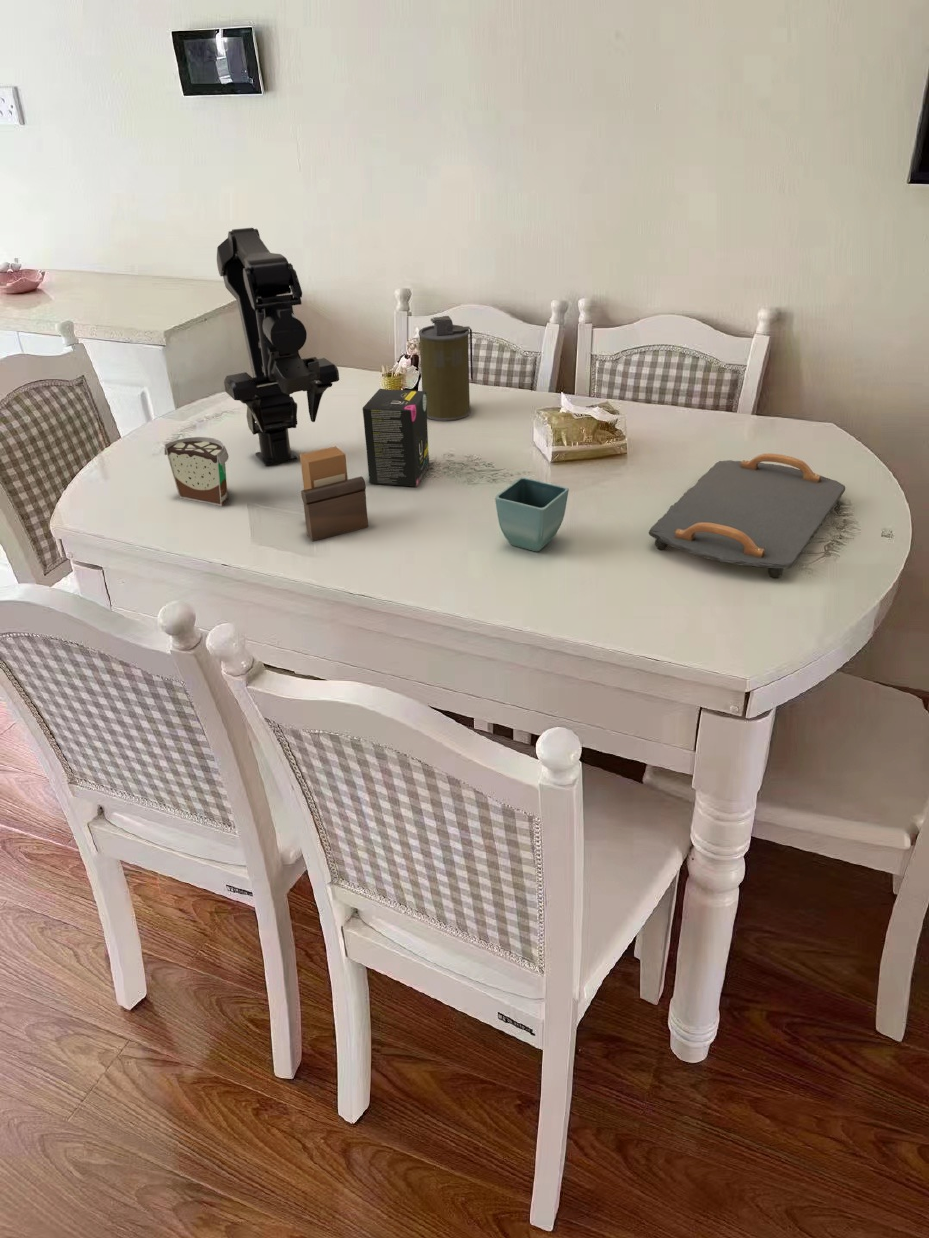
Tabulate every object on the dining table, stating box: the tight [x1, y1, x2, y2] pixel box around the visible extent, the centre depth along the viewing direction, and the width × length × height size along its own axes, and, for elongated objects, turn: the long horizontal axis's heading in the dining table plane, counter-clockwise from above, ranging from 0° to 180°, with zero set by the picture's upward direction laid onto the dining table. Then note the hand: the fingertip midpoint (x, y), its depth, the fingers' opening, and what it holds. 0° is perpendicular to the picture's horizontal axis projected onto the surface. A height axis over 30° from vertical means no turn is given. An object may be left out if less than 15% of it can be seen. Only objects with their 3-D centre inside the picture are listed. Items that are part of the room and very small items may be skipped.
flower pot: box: [494, 477, 570, 552], centre depth 153 cm, size 9×9×9 cm
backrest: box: [300, 476, 369, 542], centre depth 158 cm, size 2×10×9 cm, turn 119°
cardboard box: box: [299, 446, 348, 490], centre depth 160 cm, size 4×6×12 cm, turn 119°
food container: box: [163, 436, 230, 507], centre depth 171 cm, size 12×6×10 cm, turn 65°
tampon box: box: [362, 388, 430, 487], centre depth 176 cm, size 11×9×15 cm
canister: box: [418, 315, 474, 422], centre depth 201 cm, size 11×10×20 cm
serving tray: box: [648, 453, 846, 580], centre depth 158 cm, size 39×23×6 cm, turn 148°
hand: (288, 426), depth 169 cm, fingers open, 9 cm apart
